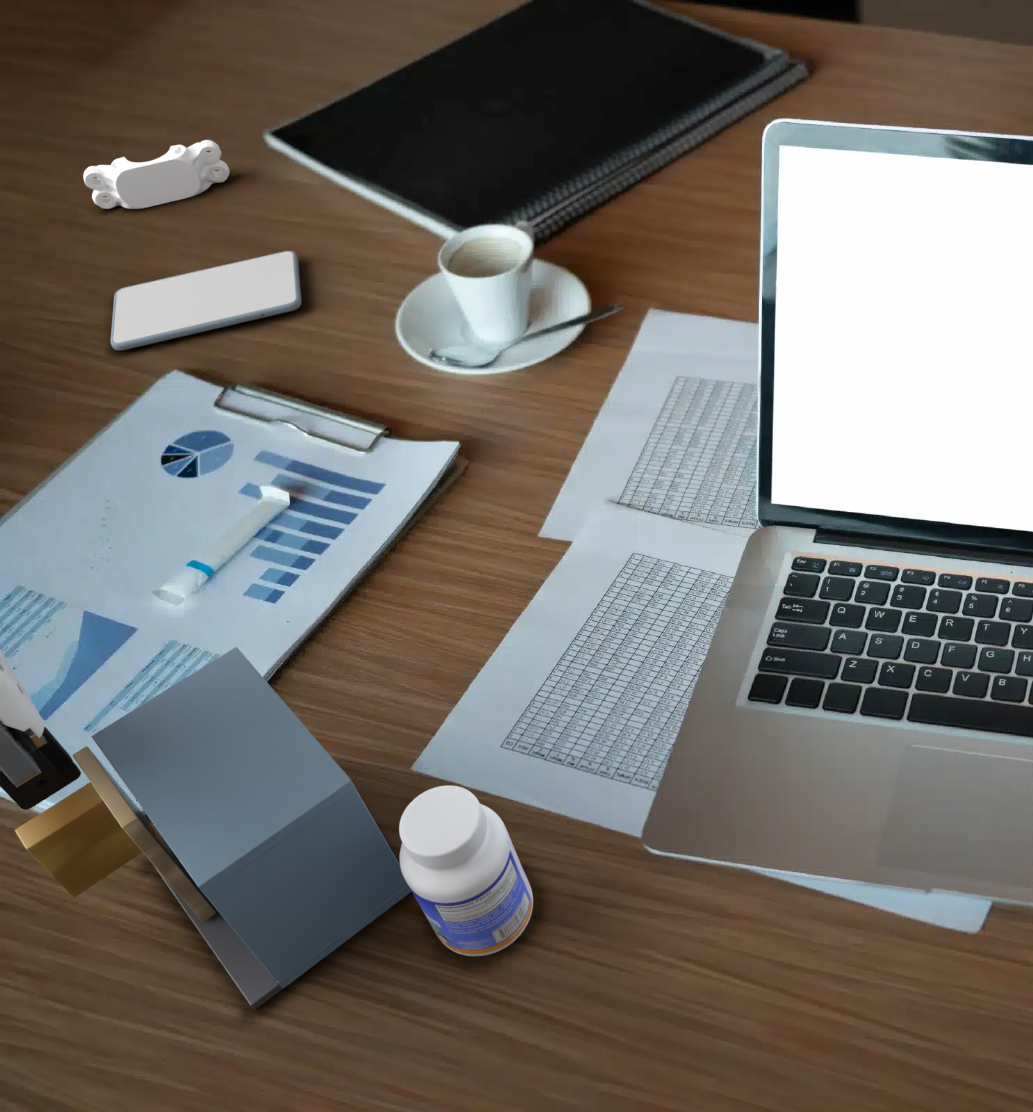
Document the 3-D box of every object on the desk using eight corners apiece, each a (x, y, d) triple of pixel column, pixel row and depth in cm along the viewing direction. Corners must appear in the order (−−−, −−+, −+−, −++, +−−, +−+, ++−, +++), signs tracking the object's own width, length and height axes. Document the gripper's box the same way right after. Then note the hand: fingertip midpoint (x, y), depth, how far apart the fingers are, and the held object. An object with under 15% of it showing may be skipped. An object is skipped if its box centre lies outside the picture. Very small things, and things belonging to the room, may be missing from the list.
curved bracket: (98, 219, 119) (78, 181, 116) (97, 205, 120) (77, 167, 118) (234, 186, 122) (218, 148, 119) (232, 173, 123) (215, 135, 120)
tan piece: (131, 973, 68) (39, 881, 61) (84, 899, 71) (-9, 804, 64) (216, 912, 71) (137, 817, 63) (167, 843, 74) (86, 745, 66)
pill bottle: (430, 884, 72) (377, 789, 65) (527, 855, 73) (485, 758, 66) (441, 974, 69) (386, 883, 61) (543, 941, 70) (501, 848, 62)
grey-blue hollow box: (254, 1010, 68) (165, 910, 59) (153, 864, 74) (59, 755, 66) (414, 889, 72) (351, 780, 64) (306, 761, 78) (236, 646, 70)
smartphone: (113, 288, 110) (295, 247, 112) (119, 297, 111) (299, 257, 113) (108, 347, 104) (299, 302, 107) (114, 356, 105) (303, 312, 108)
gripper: (-301, 514, 59) (-73, 745, 72) (-199, 704, 51) (34, 922, 65) (-126, 431, 62) (60, 666, 75) (-6, 598, 54) (177, 825, 68)
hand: (48, 784), depth 70 cm, fingers closed
